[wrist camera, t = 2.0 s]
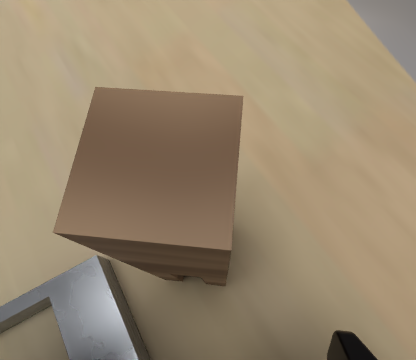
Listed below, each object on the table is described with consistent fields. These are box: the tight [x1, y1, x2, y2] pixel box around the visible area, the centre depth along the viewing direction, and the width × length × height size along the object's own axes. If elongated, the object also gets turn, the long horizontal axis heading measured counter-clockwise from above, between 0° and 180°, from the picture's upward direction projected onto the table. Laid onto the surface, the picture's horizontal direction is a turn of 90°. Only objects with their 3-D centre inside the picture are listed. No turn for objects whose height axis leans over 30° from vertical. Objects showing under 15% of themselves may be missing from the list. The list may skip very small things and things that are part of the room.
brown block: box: [53, 87, 243, 286], centre depth 13 cm, size 4×4×13 cm
